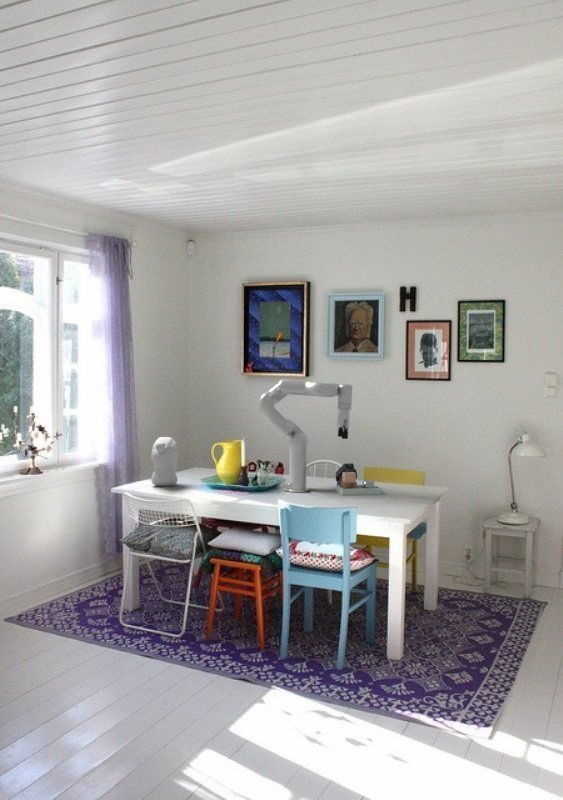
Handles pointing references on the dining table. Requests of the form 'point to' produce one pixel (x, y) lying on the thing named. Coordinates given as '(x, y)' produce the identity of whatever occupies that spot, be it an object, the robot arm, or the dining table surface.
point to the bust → (164, 462)
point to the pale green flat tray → (359, 490)
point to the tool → (342, 469)
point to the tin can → (368, 484)
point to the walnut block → (348, 485)
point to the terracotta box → (349, 477)
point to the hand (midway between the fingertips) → (342, 437)
